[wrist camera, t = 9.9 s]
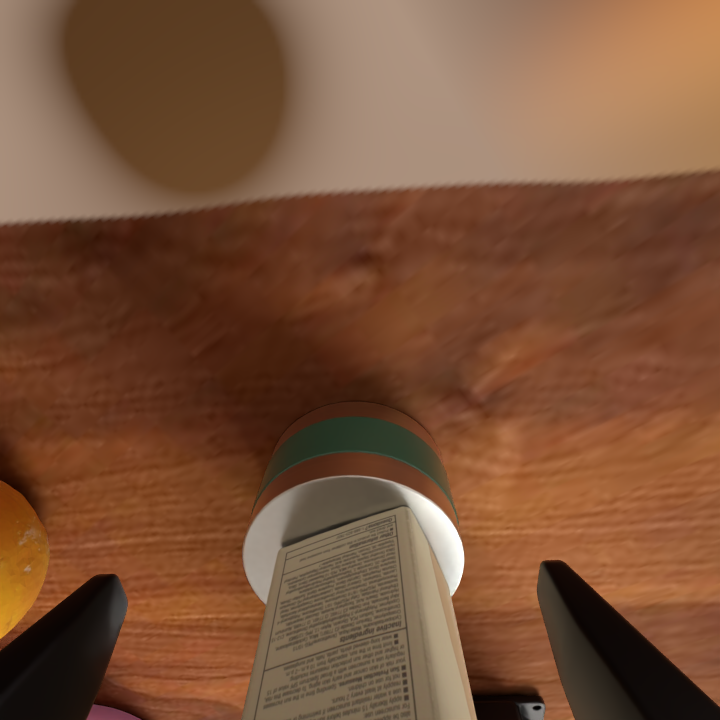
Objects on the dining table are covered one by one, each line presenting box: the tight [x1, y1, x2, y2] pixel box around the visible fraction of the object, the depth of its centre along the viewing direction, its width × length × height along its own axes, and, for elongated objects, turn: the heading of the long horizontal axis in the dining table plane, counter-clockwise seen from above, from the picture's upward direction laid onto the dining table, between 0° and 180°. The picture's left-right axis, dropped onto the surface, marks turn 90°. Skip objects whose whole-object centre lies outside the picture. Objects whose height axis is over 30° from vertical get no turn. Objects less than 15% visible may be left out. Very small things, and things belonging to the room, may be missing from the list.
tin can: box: [242, 402, 465, 605], centre depth 18 cm, size 8×8×5 cm
